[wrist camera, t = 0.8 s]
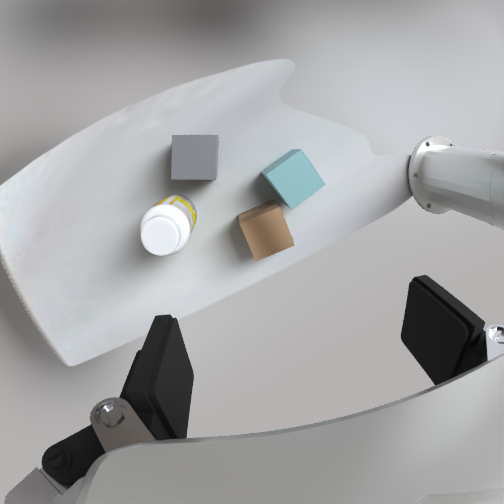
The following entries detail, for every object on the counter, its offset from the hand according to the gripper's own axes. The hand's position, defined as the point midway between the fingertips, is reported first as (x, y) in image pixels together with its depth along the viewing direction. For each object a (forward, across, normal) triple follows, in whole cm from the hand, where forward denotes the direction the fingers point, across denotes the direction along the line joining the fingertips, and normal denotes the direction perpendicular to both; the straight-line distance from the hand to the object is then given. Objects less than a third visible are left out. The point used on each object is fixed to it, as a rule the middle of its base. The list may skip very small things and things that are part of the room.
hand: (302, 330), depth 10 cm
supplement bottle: (+28, +10, 0) cm, 30 cm away
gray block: (+28, +6, -7) cm, 29 cm away
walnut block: (+28, -1, +3) cm, 28 cm away
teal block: (+28, -5, -3) cm, 29 cm away
